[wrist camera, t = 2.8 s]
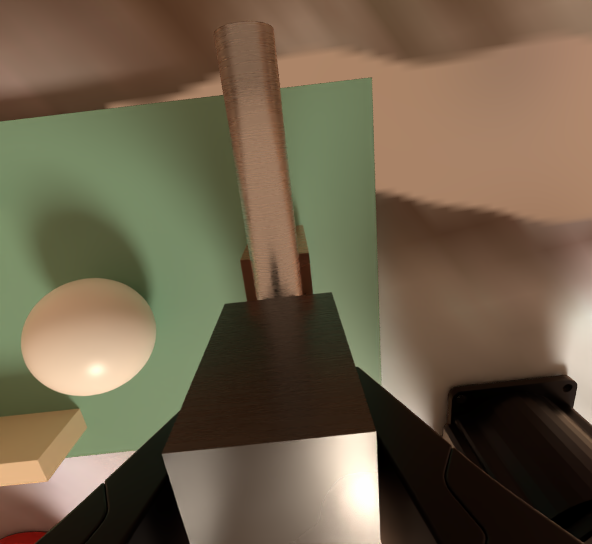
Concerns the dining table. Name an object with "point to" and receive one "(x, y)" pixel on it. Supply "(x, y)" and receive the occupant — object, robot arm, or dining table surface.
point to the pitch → (167, 248)
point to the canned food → (23, 538)
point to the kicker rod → (272, 360)
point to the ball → (88, 336)
